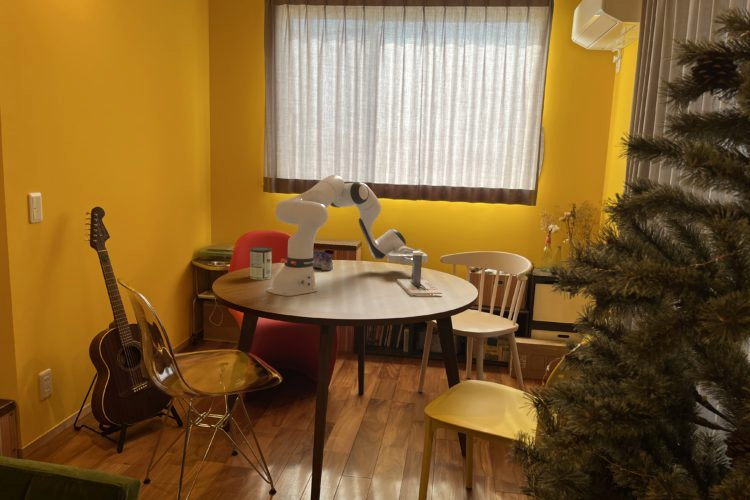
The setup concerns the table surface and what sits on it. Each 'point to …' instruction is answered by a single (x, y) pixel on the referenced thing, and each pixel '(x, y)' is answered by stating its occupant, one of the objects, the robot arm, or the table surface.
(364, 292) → the table surface
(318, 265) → the geode
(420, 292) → the console
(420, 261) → the fader tab
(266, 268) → the coffee can
